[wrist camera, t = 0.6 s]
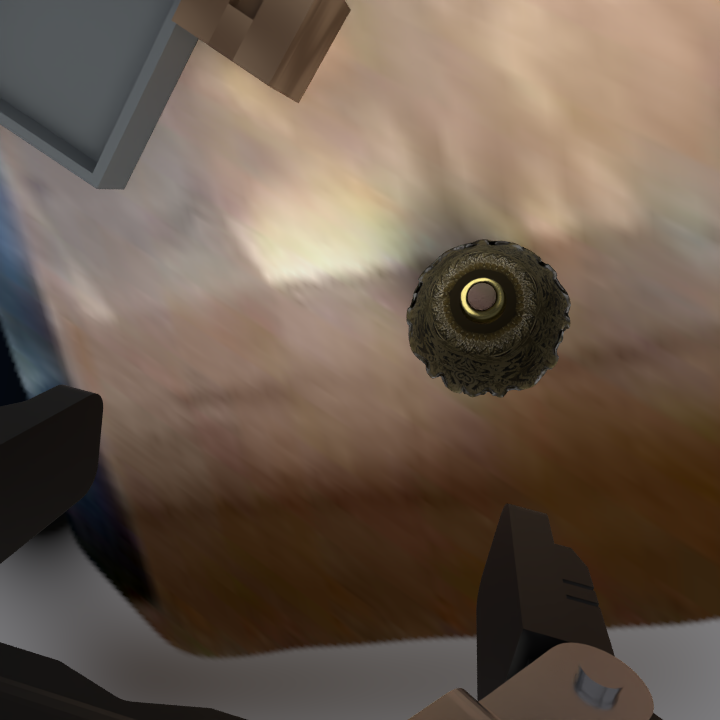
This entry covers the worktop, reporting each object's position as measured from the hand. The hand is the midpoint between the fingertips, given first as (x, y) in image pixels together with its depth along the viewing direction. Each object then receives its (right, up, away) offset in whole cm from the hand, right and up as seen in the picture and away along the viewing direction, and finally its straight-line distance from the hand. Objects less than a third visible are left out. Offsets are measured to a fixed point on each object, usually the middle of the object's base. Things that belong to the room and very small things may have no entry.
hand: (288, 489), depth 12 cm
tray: (-15, +22, +25) cm, 36 cm away
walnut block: (-3, +21, +23) cm, 31 cm away
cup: (+8, +6, +25) cm, 27 cm away
